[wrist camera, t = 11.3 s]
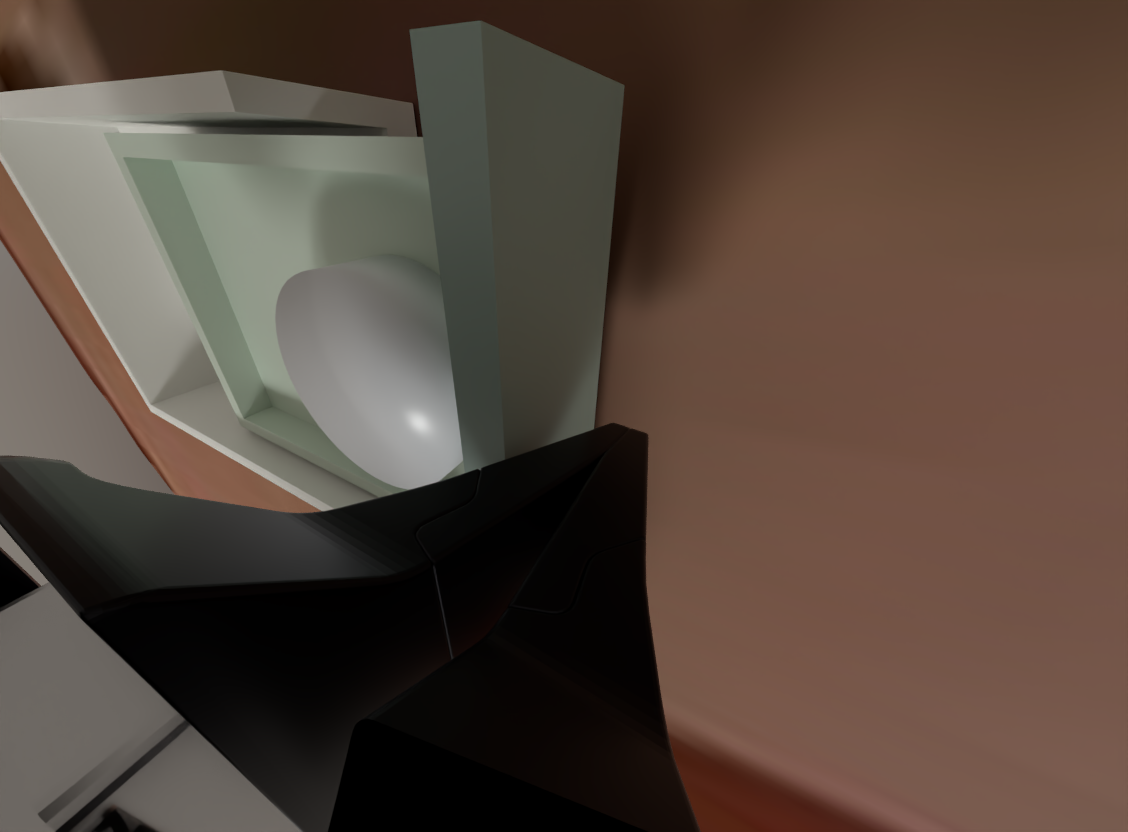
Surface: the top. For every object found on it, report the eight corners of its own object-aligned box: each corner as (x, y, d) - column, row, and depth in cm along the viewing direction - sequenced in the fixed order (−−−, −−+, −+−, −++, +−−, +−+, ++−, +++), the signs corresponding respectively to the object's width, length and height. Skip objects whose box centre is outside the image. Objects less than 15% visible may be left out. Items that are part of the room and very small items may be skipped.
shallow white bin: (460, 468, 17) (372, 540, 14) (247, 377, 23) (150, 411, 20) (413, 103, 11) (222, 69, 7) (133, 111, 17) (-39, 96, 13)
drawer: (582, 552, 14) (516, 659, 11) (296, 420, 20) (203, 464, 17) (624, 85, 7) (480, 19, 4) (176, 104, 13) (-13, 83, 10)
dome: (526, 460, 11) (484, 504, 10) (390, 444, 14) (342, 476, 13) (460, 233, 9) (389, 247, 7) (312, 272, 12) (241, 288, 10)
